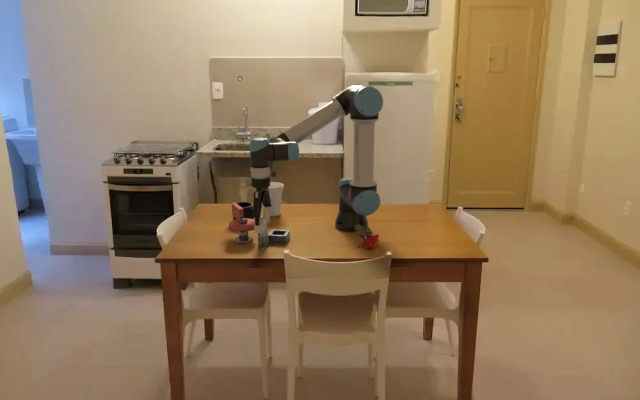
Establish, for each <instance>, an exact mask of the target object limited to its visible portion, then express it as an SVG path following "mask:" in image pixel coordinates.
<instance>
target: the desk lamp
mask: <svg viewBox="0 0 640 400" xmlns="http://www.w3.org/2000/svg"><path fill="white" fill-rule="evenodd" d="M237 203H238V202H231V215H232V217H233V216H234V217H235V218H236V220H233V219H232V220H231V221H229V223H228V228H229V230H230V231H233V232H236V233H237V232H238V233H239V232H246V231H248V232H252V231H255V227H254V219H248V218H244V214H243V208H242V207H240V206H239V205H238V204H237Z"/></svg>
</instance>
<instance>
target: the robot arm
mask: <svg viewBox="0 0 640 400" xmlns="http://www.w3.org/2000/svg"><path fill="white" fill-rule="evenodd" d="M383 106H384V98H383V95H382V93H381V92H380V90H378V89H377V88H376V87H374V86H371V85H368V84H367V85H366V84H357V83H356V84H353V85H351V86H348V87H347V88H345V89H344V90H342V91H341V92H339V93H337V94H336V95H334V96H333V97H332V98H331V101H329V102H328V103H327V104H325V105H323V106H322V107H320V108H319V109H317V110H316V111H314V112H312V113H310V114H309V115H308V116H306V117H305V118H303V119H302V120H299V122H296V123H295V124H294V125H292V126H291V127H289V128H287V129H285V131H283V132H281V133H280V134H278V135H274V136H271V137H270V138H266V137H255V138H252V139H251V140H250V141H249V159H250V168H249V171H250V177H251V179H250V180H251V187H252V188H254V189H255V191H254V192H253V200H252V201H253V203H252V204H253V213H252V217H254V227H255V229H254V233H255V234H256V233H257V234H258V233H262V225H261V217H260V215H261V214H262V215H265V216H267V223H271V217H270V207H271V206H272V204H271V201H270V195H269V190H268V187H269V186H270V182H271V177H270V176H271V168H270V166H271V165H270V163H271V162H273V163H274V162H292V161H297V160H298V159H299V157H300V147H299V144H301V142H303V141H304V140H306V139H308V138H309V137H311V136H312V135H314V134H316V133H318V132H319V131H320V130H322V129H323V128H325V127H326V126H328V125H329V124H331V123H333V122H334V121H335V120H338V119H339V118H341V117H342V118H345V117H346V116H348V115H350V116H349V117H350V118H349V119H350V121H351V122H353V164H352V165H353V172H352V173H353V174H352V175H353V177H352V176H351V177H344V178H341V179H340V180H339V183H338V212H337V216H336V218H335V225H334V226H335V227H334V228H335V229H338V230H339V231H343V232H354V233H355V232H356V230H355V228H354V227H355V226H357V225H359V224H360V225H362V226H363V227H364V228H365V227H367V228H369V223H368V219H367V218H368V217H367V216H371V215H373V214H374V213H376V212H377V210H379V208H380V205H381V197H380V195H379V193H378V189H377V188H378V187H377V186H378V182H376V180H374V171H375V170H374V168H375V167H374V166H375V165H374V163H375V162H374V161H375V155H374V154H375V124H376V122H377V121H379V112H381V111H382V109H383ZM262 203H263V205H262ZM263 206H265V207H263ZM365 229H366V228H365Z"/></svg>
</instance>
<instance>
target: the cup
mask: <svg viewBox="0 0 640 400" xmlns="http://www.w3.org/2000/svg"><path fill="white" fill-rule="evenodd" d="M284 188H285V185H284V183H282V182H280V181H279V182H278V181H270V186H269V187H268V190H269V195H270V201H271V204H272V206H271V207H270V218H277V217H280V216H281V207H282V198H283V197H282V196H283V195H282V194H283V190H284ZM263 207H265V206H263V203H262V208H263Z"/></svg>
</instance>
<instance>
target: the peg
mask: <svg viewBox="0 0 640 400" xmlns="http://www.w3.org/2000/svg"><path fill="white" fill-rule="evenodd" d="M260 217H261V225H262V233H257V247H258V248H259V249H266V248H268V246H269V245H268V244H269V243H268V222H267V216H265V215H263V214H262V215H260Z"/></svg>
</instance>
